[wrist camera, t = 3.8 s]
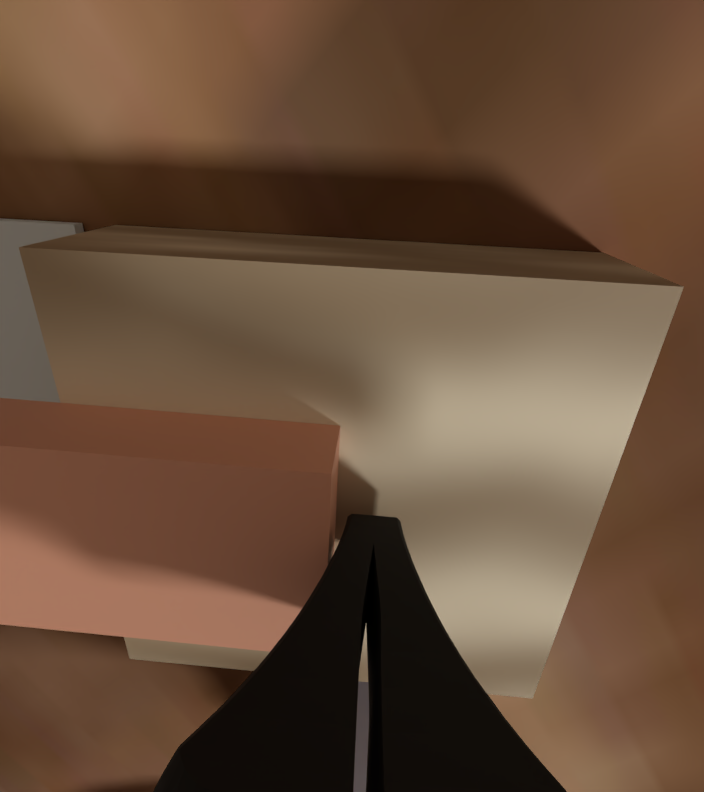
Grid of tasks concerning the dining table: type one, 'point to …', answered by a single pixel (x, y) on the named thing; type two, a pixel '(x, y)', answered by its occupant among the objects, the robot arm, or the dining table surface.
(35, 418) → the terracotta brown block
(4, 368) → the mat
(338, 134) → the dining table surface
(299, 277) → the board
